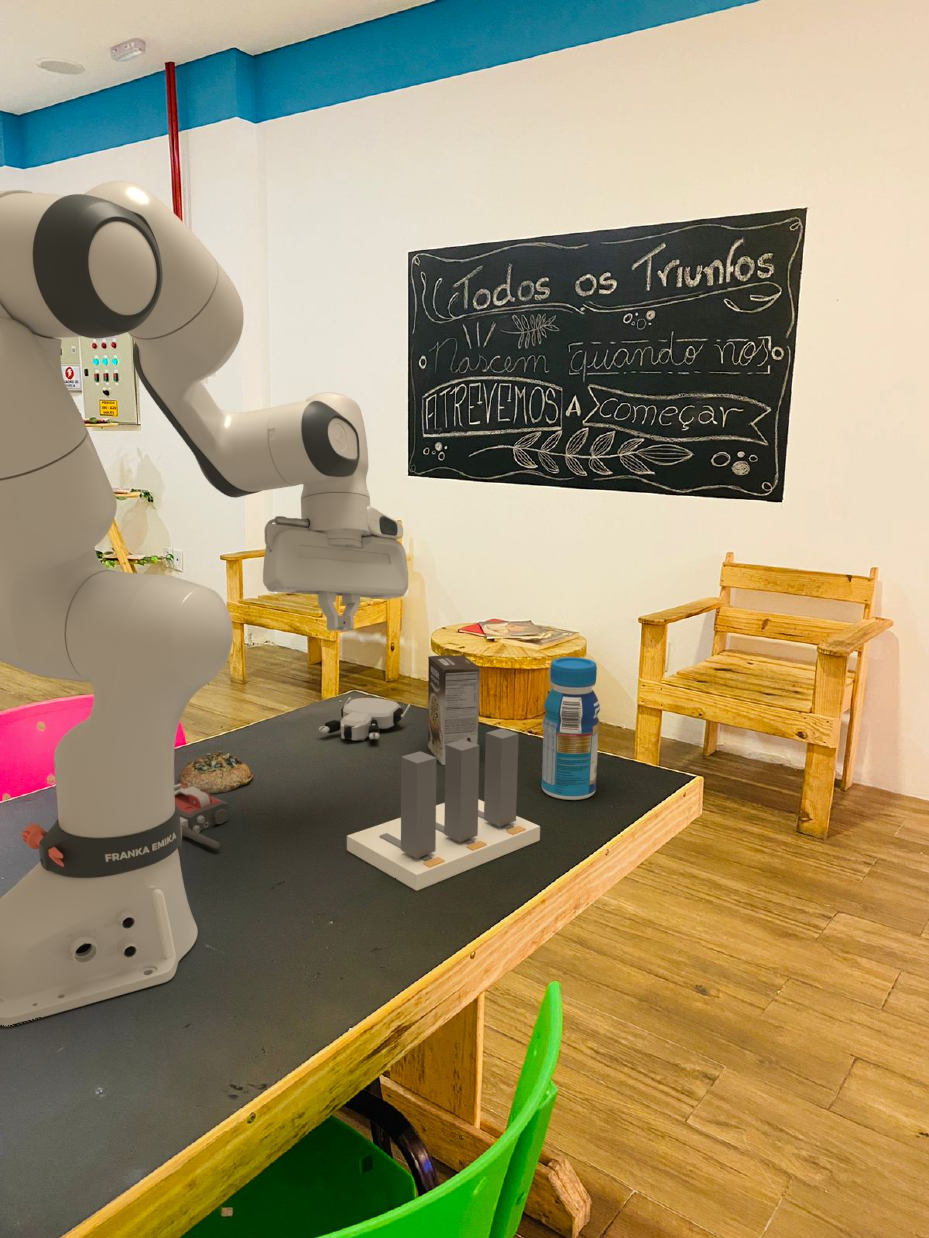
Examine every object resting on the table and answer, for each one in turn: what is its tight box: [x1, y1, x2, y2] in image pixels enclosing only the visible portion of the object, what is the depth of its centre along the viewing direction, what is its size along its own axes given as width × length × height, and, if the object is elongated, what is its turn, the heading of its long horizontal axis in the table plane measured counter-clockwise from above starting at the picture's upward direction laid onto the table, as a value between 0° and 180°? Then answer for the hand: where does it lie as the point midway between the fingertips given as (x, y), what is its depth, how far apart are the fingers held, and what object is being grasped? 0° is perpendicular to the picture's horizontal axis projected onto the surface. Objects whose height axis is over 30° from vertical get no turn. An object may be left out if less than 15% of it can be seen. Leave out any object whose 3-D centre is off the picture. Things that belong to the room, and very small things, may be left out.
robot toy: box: [318, 696, 411, 741], centre depth 164 cm, size 12×4×15 cm
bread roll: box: [178, 750, 254, 795], centre depth 140 cm, size 11×11×5 cm
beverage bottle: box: [541, 656, 601, 801], centre depth 137 cm, size 8×8×20 cm
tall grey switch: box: [400, 751, 438, 859], centre depth 111 cm, size 3×3×12 cm
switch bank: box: [346, 798, 541, 891], centre depth 119 cm, size 21×14×2 cm, turn 132°
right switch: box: [483, 727, 520, 827], centre depth 120 cm, size 3×3×12 cm
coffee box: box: [427, 654, 481, 766], centre depth 152 cm, size 9×6×16 cm
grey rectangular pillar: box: [444, 739, 481, 842], centre depth 116 cm, size 3×3×12 cm
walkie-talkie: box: [174, 782, 229, 850], centre depth 124 cm, size 9×4×20 cm
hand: (340, 630), depth 116 cm, fingers closed
